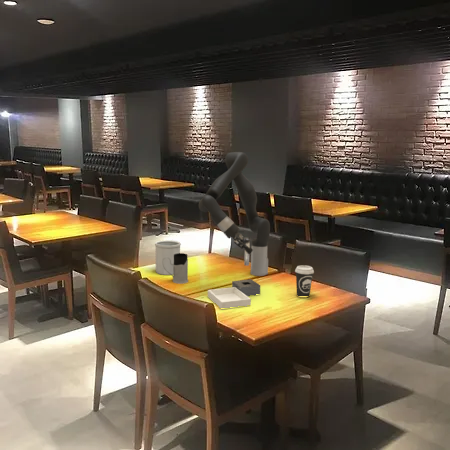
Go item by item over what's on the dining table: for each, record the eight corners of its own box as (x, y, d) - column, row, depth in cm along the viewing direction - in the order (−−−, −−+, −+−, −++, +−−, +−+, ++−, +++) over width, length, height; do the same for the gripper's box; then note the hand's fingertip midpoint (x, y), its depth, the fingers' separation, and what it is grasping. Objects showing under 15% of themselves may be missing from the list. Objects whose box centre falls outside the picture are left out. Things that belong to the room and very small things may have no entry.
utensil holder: (166, 266, 304) (166, 238, 300) (185, 271, 295) (185, 242, 292) (149, 272, 292) (149, 242, 288) (168, 276, 283) (168, 246, 280)
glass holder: (188, 283, 272) (188, 257, 269) (162, 283, 271) (162, 256, 268) (188, 278, 281) (188, 252, 278) (163, 278, 280) (162, 252, 277)
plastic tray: (234, 293, 258) (235, 286, 257) (250, 305, 241) (250, 298, 240) (207, 296, 252) (207, 290, 251) (221, 309, 235) (221, 302, 234)
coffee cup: (314, 294, 259) (316, 266, 256) (309, 300, 250) (311, 271, 247) (296, 291, 263) (298, 264, 260) (291, 296, 254) (292, 268, 251)
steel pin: (248, 263, 259) (249, 237, 256) (251, 265, 256) (252, 239, 253) (241, 264, 258) (242, 237, 255) (244, 266, 254) (245, 239, 251)
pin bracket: (250, 288, 267) (251, 279, 266) (260, 294, 257) (260, 285, 256) (232, 290, 262) (232, 281, 261) (240, 297, 252) (240, 287, 252)
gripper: (230, 225, 247) (254, 250, 247) (236, 220, 261) (258, 244, 260) (220, 234, 249) (243, 260, 249) (226, 229, 263) (248, 253, 263)
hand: (251, 252), depth 255 cm, fingers closed on steel pin, 2 cm apart
